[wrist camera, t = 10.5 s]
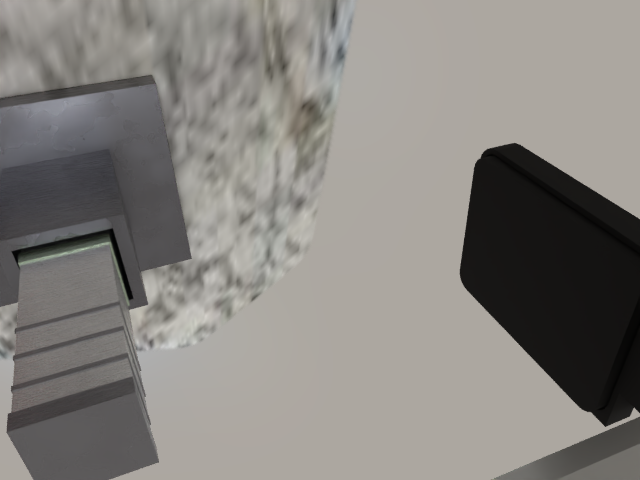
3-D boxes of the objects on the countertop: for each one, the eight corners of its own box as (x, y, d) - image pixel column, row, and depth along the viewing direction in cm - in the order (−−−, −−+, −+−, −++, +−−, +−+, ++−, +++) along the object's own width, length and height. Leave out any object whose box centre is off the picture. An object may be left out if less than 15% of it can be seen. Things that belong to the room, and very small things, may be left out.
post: (104, 205, 38) (135, 392, 25) (122, 267, 41) (158, 462, 28) (20, 223, 36) (6, 432, 23) (46, 286, 39) (46, 501, 26)
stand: (151, 75, 43) (180, 136, 33) (187, 246, 52) (217, 331, 43) (-89, 112, 38) (-132, 195, 29) (-3, 293, 47) (-15, 399, 38)
